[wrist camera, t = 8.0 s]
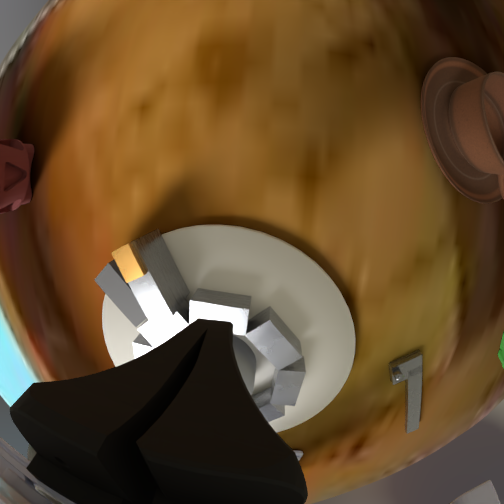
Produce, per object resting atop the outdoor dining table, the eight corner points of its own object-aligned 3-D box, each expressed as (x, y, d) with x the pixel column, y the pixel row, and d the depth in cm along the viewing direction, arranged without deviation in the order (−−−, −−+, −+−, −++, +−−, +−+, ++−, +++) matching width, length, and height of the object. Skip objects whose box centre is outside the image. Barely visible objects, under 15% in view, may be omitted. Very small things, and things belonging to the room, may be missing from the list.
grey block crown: (328, 250, 17) (342, 271, 14) (283, 420, 22) (283, 453, 18) (138, 226, 18) (108, 239, 14) (151, 397, 23) (137, 425, 19)
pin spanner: (416, 423, 23) (421, 435, 21) (392, 433, 24) (397, 445, 22) (418, 348, 20) (427, 361, 18) (388, 361, 21) (395, 376, 19)
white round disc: (309, 440, 24) (311, 466, 21) (119, 400, 25) (106, 421, 21) (389, 255, 18) (411, 273, 15) (104, 204, 19) (74, 211, 15)
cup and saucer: (519, 153, 14) (562, 156, 8) (462, 229, 17) (510, 248, 11) (455, 45, 13) (493, 23, 7) (381, 104, 15) (422, 79, 10)
